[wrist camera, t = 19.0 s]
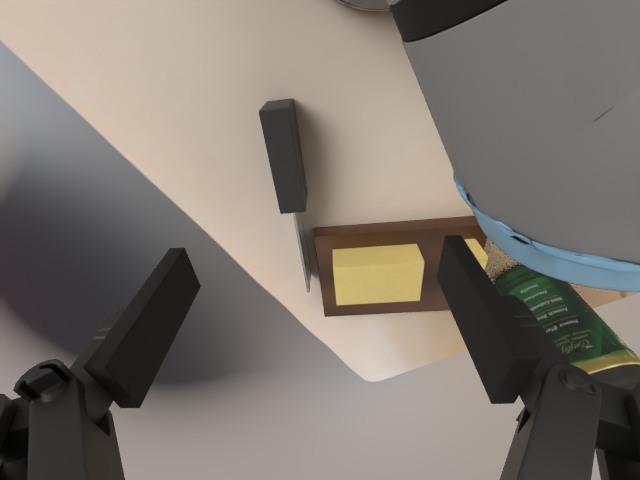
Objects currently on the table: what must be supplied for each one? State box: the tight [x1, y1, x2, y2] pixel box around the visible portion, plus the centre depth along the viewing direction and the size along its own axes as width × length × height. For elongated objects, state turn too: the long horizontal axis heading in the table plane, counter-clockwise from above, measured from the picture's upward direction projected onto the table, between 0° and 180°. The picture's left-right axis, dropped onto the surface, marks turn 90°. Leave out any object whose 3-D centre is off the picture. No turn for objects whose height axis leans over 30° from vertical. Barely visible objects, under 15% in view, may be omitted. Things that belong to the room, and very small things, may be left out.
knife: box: [259, 99, 311, 292], centre depth 33 cm, size 22×3×4 cm, turn 6°
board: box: [314, 216, 487, 317], centre depth 39 cm, size 14×20×2 cm
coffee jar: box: [494, 264, 640, 390], centre depth 34 cm, size 10×8×19 cm
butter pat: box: [464, 239, 489, 271], centre depth 35 cm, size 6×2×4 cm, turn 5°
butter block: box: [333, 244, 425, 305], centre depth 36 cm, size 6×10×4 cm, turn 96°
